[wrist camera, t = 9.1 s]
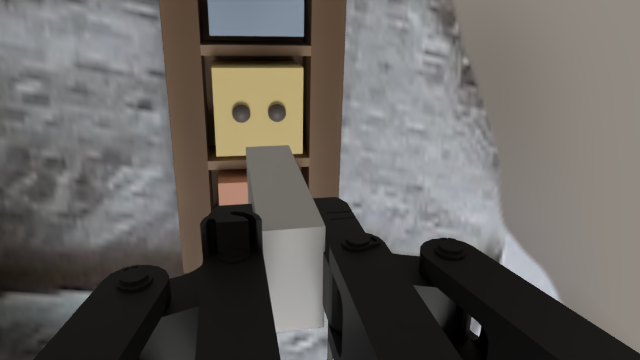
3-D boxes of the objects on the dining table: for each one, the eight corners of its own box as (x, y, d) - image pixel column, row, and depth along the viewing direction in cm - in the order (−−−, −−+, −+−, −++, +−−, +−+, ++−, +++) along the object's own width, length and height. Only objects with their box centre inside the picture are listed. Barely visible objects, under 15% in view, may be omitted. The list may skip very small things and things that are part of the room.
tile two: (217, 140, 27) (216, 157, 24) (213, 60, 26) (211, 68, 23) (295, 138, 28) (302, 154, 25) (295, 60, 26) (303, 68, 24)
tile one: (222, 233, 29) (222, 259, 26) (219, 165, 28) (218, 184, 25) (294, 229, 30) (301, 254, 27) (295, 162, 29) (302, 181, 26)
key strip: (189, 242, 31) (183, 273, 27) (161, -89, 24) (149, -104, 21) (324, 233, 32) (336, 262, 29) (333, -80, 26) (350, -92, 22)
